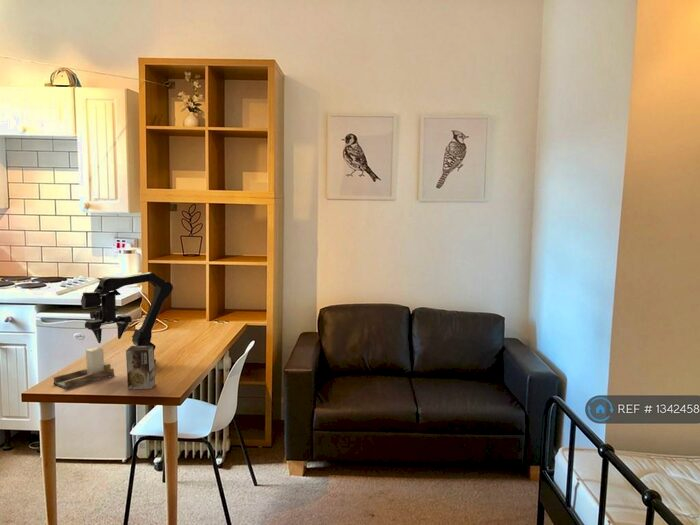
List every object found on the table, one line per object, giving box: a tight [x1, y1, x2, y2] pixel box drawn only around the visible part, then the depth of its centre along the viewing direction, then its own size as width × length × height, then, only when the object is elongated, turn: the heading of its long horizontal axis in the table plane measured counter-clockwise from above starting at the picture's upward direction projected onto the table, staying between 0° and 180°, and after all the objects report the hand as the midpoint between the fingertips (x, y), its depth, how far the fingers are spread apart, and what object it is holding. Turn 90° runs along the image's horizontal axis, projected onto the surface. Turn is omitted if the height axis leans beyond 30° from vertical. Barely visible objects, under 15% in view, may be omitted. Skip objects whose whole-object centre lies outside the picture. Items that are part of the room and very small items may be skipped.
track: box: [53, 361, 115, 390], centre depth 212 cm, size 20×10×5 cm, turn 146°
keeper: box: [85, 346, 105, 375], centre depth 215 cm, size 5×4×11 cm
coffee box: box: [125, 345, 156, 390], centre depth 204 cm, size 9×6×16 cm
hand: (109, 341), depth 224 cm, fingers open, 9 cm apart
